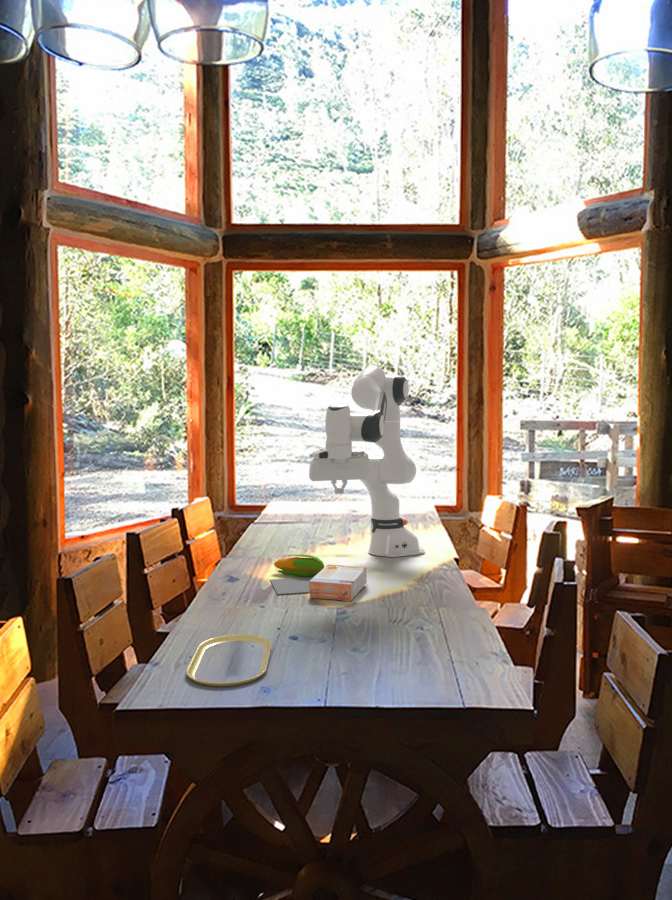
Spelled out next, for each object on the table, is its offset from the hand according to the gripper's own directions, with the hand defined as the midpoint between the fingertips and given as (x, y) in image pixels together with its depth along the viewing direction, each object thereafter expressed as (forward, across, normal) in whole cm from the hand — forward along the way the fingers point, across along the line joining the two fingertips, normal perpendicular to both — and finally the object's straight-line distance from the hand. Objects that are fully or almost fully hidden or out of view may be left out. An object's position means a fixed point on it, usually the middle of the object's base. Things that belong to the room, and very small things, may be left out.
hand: (339, 493), depth 270 cm
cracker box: (+27, -2, +2) cm, 27 cm away
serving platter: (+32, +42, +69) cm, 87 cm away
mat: (+31, +12, 0) cm, 33 cm away
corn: (+31, +12, -16) cm, 37 cm away
